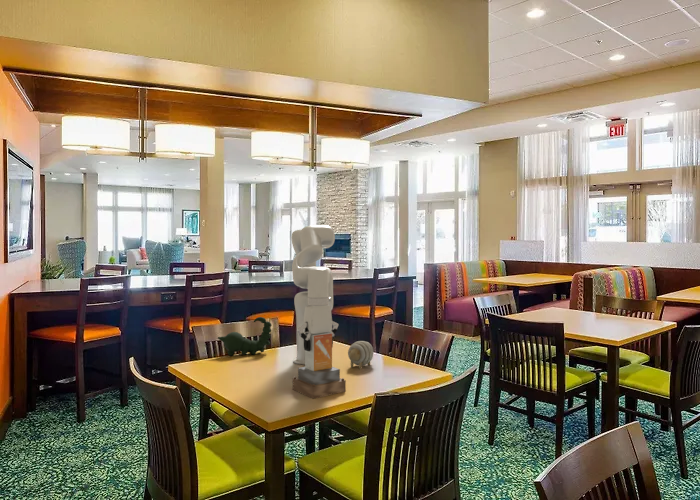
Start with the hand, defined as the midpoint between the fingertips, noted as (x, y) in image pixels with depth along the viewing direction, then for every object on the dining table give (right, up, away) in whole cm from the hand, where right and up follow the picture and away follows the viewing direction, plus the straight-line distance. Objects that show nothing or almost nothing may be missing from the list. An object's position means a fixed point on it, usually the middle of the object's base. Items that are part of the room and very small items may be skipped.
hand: (318, 348), depth 187 cm
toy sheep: (+17, -15, +35) cm, 42 cm away
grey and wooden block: (0, -15, 0) cm, 15 cm away
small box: (0, -8, +1) cm, 8 cm away
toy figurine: (-39, -14, +60) cm, 73 cm away
